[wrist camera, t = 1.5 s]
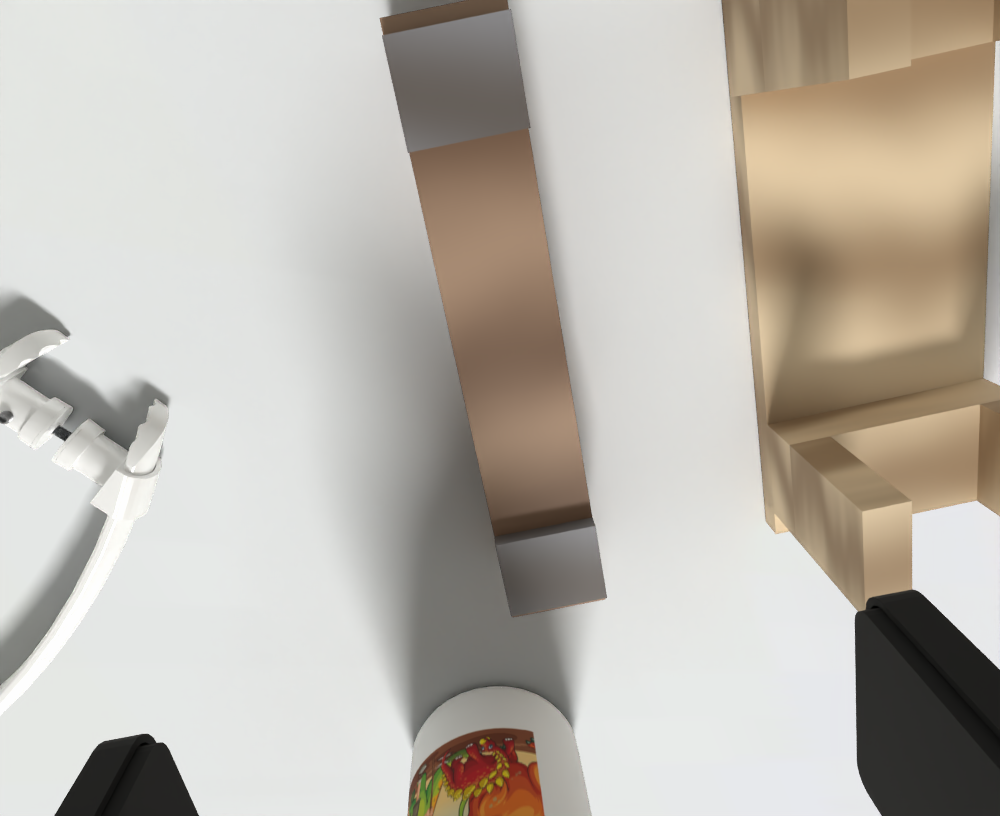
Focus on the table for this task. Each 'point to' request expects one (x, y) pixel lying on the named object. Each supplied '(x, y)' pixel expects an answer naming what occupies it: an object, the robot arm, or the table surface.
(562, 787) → the milk bottle
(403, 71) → the rail
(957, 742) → the robot arm
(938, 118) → the wooden cradle stand
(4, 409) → the door handle
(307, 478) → the table surface
